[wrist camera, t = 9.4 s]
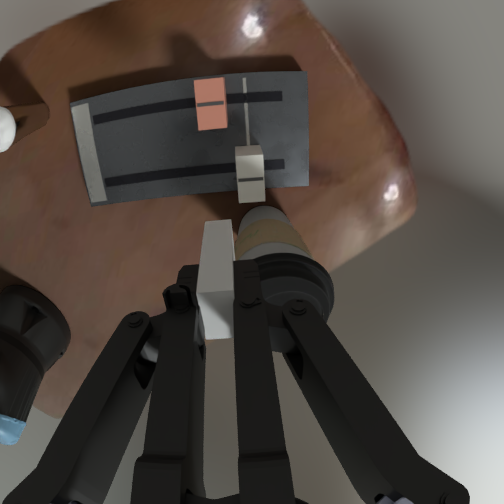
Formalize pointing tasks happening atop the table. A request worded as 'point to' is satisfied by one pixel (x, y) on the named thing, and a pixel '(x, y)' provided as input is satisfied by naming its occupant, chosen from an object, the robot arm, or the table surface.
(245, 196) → the fader
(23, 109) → the milkshake
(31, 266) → the table surface
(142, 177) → the console
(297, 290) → the coffee cup
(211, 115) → the fader
